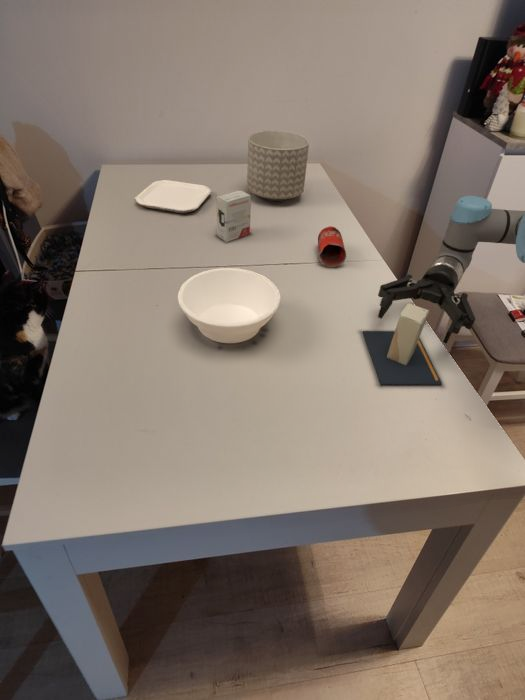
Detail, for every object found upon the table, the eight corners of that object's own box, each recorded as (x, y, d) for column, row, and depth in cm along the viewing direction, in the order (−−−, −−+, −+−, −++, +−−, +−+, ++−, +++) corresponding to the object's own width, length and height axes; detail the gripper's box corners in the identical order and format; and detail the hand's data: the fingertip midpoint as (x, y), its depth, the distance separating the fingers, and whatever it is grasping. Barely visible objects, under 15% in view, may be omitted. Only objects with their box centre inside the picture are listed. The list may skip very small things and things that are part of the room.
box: (394, 344, 94) (408, 301, 86) (414, 352, 92) (430, 309, 85) (385, 358, 90) (399, 314, 83) (406, 366, 89) (422, 323, 81)
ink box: (240, 228, 131) (241, 188, 124) (250, 234, 129) (252, 194, 121) (216, 235, 127) (215, 195, 119) (226, 242, 124) (226, 201, 117)
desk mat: (441, 385, 86) (442, 383, 86) (380, 385, 85) (381, 383, 85) (415, 333, 98) (416, 331, 98) (362, 332, 97) (362, 330, 97)
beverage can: (339, 246, 126) (343, 224, 122) (344, 268, 117) (348, 245, 113) (314, 245, 126) (317, 223, 122) (317, 267, 117) (320, 244, 113)
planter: (257, 210, 141) (259, 150, 129) (239, 187, 155) (240, 131, 143) (311, 205, 147) (319, 147, 135) (290, 183, 160) (295, 129, 148)
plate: (193, 218, 135) (193, 211, 133) (130, 208, 137) (129, 201, 136) (215, 193, 150) (214, 186, 148) (157, 184, 153) (157, 178, 151)
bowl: (226, 373, 85) (226, 340, 80) (160, 323, 96) (156, 291, 90) (297, 327, 97) (301, 296, 92) (231, 287, 108) (232, 257, 102)
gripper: (490, 311, 101) (469, 363, 87) (386, 275, 110) (352, 317, 96) (504, 283, 96) (484, 333, 82) (394, 248, 105) (359, 288, 91)
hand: (412, 325), depth 89 cm, fingers open, 13 cm apart
